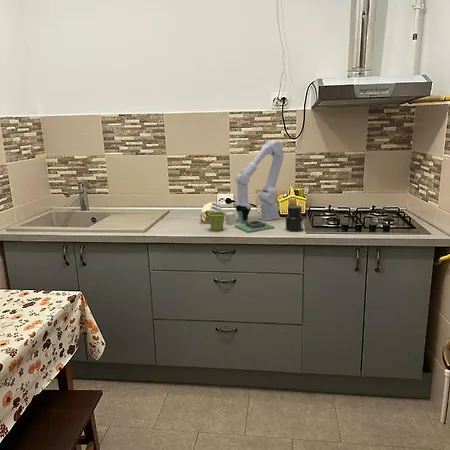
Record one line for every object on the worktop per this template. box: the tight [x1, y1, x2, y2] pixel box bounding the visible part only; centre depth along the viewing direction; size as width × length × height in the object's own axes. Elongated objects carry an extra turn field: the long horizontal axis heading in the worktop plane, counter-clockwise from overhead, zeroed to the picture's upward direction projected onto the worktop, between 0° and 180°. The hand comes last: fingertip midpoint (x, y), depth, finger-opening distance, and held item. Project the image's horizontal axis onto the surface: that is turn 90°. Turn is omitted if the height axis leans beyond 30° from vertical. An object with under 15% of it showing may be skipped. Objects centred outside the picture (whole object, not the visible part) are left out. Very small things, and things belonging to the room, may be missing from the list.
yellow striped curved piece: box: [200, 199, 222, 225], centre depth 248 cm, size 25×10×13 cm, turn 178°
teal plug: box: [237, 211, 249, 224], centre depth 239 cm, size 4×4×6 cm
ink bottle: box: [285, 205, 304, 232], centre depth 218 cm, size 10×9×12 cm
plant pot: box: [207, 211, 227, 232], centre depth 224 cm, size 9×9×9 cm
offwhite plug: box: [224, 211, 237, 226], centre depth 235 cm, size 4×4×6 cm
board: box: [234, 219, 275, 234], centre depth 226 cm, size 16×14×3 cm
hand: (243, 219), depth 239 cm, fingers closed on teal plug, 4 cm apart
